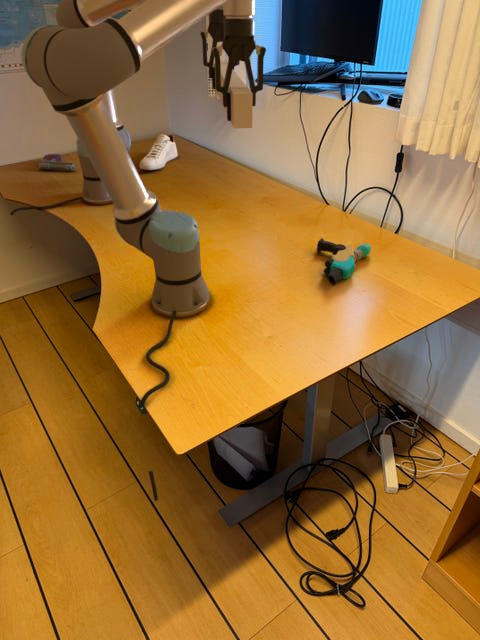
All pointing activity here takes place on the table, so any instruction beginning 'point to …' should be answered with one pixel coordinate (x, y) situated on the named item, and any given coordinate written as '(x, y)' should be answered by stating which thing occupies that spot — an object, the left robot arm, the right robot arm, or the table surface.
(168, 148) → the sneaker
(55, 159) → the toy gun
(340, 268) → the toy gun
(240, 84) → the beam
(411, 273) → the table surface
